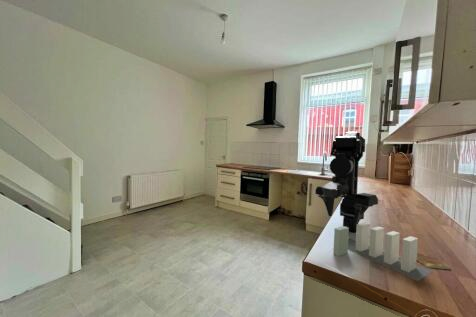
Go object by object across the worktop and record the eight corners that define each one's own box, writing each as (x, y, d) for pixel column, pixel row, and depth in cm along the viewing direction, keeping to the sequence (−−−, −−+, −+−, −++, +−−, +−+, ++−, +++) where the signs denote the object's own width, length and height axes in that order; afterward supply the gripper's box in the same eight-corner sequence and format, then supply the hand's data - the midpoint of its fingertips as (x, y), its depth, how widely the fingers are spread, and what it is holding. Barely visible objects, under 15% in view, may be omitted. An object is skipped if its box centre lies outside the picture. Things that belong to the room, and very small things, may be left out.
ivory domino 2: (376, 252, 70) (378, 226, 70) (382, 254, 68) (384, 228, 68) (368, 255, 67) (370, 228, 67) (374, 257, 66) (376, 230, 66)
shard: (401, 252, 72) (401, 247, 72) (425, 255, 71) (425, 250, 71) (425, 270, 61) (425, 264, 61) (454, 272, 60) (454, 267, 60)
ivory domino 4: (408, 265, 62) (410, 236, 62) (416, 268, 60) (417, 238, 60) (400, 269, 60) (402, 239, 59) (408, 272, 58) (410, 241, 58)
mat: (350, 239, 81) (350, 238, 81) (433, 272, 59) (433, 271, 59) (334, 244, 76) (334, 243, 76) (418, 282, 54) (418, 281, 54)
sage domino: (342, 251, 70) (343, 226, 70) (347, 254, 69) (348, 227, 68) (333, 254, 68) (334, 228, 68) (338, 257, 66) (339, 230, 66)
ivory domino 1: (363, 246, 74) (364, 222, 74) (368, 248, 72) (369, 223, 72) (355, 249, 71) (356, 224, 71) (360, 251, 70) (361, 225, 69)
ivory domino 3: (391, 258, 66) (393, 230, 66) (398, 260, 64) (399, 232, 64) (383, 261, 63) (385, 233, 63) (390, 264, 62) (392, 235, 62)
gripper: (305, 171, 72) (303, 215, 72) (358, 178, 55) (356, 234, 56) (326, 171, 77) (324, 211, 78) (380, 176, 61) (377, 228, 61)
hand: (342, 220), depth 68 cm, fingers open, 9 cm apart
